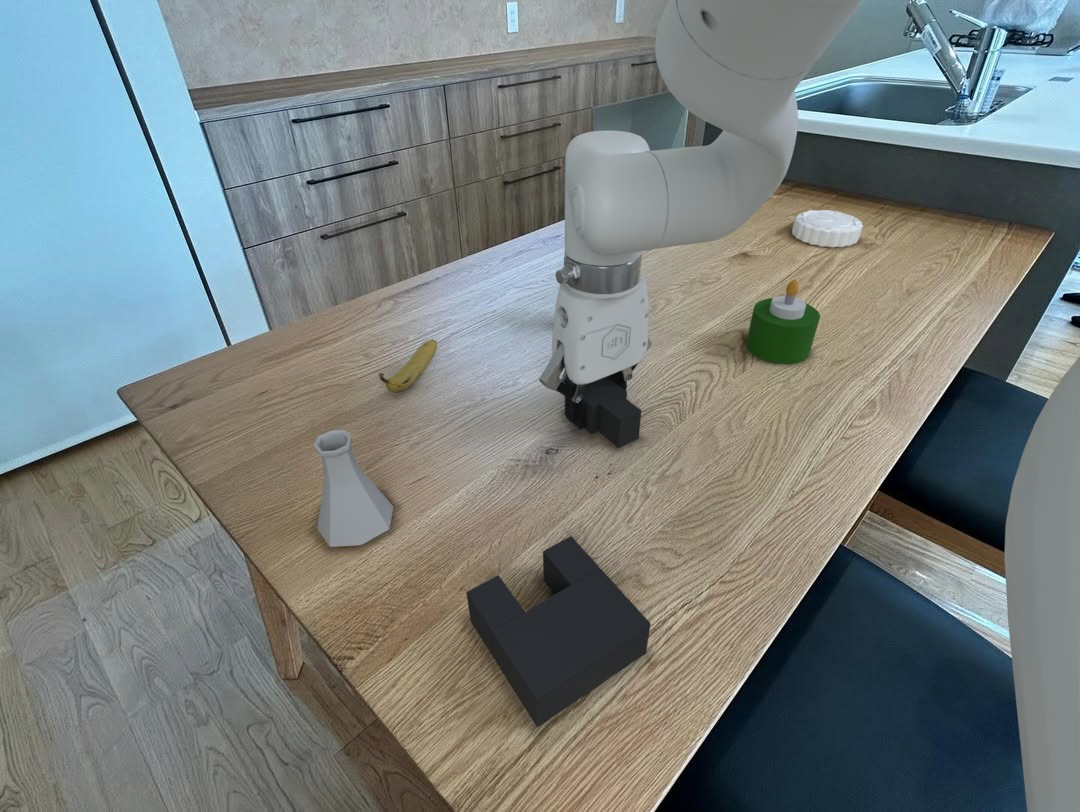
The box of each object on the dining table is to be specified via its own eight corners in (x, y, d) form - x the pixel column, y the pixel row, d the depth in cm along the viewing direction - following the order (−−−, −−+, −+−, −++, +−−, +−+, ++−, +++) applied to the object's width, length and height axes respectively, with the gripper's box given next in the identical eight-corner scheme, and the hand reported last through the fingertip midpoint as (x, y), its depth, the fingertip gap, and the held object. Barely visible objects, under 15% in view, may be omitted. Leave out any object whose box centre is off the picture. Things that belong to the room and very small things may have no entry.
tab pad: (565, 412, 70) (565, 385, 67) (598, 398, 72) (600, 371, 70) (611, 452, 64) (613, 423, 62) (645, 435, 66) (649, 407, 64)
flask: (401, 535, 55) (381, 455, 49) (321, 559, 53) (291, 478, 47) (387, 485, 60) (368, 407, 54) (314, 505, 58) (286, 426, 52)
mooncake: (848, 226, 117) (854, 208, 115) (866, 249, 108) (872, 230, 105) (786, 224, 119) (790, 206, 117) (798, 246, 109) (803, 227, 107)
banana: (431, 361, 79) (427, 335, 77) (444, 366, 78) (441, 340, 76) (377, 399, 73) (371, 372, 70) (392, 404, 72) (386, 377, 69)
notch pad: (470, 621, 48) (465, 591, 45) (570, 565, 52) (571, 535, 49) (537, 728, 41) (536, 699, 38) (646, 653, 45) (651, 623, 43)
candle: (792, 371, 76) (812, 301, 70) (734, 348, 81) (748, 281, 75) (819, 346, 81) (840, 279, 75) (763, 326, 85) (778, 261, 79)
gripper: (552, 306, 52) (553, 459, 63) (691, 261, 59) (670, 405, 70) (509, 277, 57) (516, 423, 68) (642, 239, 64) (630, 376, 75)
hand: (595, 413), depth 69 cm, fingers closed on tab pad, 5 cm apart
